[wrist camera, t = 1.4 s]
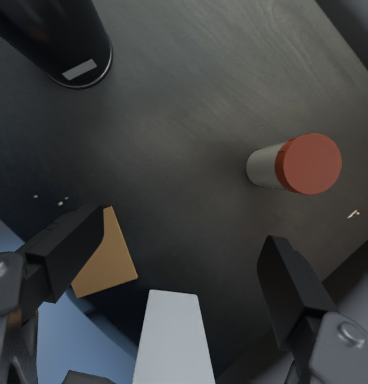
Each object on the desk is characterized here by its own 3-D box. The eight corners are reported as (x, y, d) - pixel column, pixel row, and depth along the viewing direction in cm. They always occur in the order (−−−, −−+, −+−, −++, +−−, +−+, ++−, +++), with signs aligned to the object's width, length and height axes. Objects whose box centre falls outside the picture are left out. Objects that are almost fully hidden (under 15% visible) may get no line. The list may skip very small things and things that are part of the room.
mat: (50, 226, 28) (47, 227, 27) (112, 206, 28) (110, 206, 27) (78, 296, 29) (76, 298, 28) (137, 276, 29) (137, 278, 29)
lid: (267, 146, 20) (276, 143, 19) (320, 129, 20) (334, 125, 19) (282, 200, 21) (291, 202, 19) (333, 183, 21) (347, 184, 19)
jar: (241, 154, 28) (275, 145, 19) (278, 142, 29) (329, 128, 19) (251, 191, 29) (289, 200, 20) (287, 180, 29) (342, 183, 20)
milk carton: (150, 288, 30) (111, 493, 11) (196, 294, 30) (239, 498, 11) (143, 332, 30) (94, 601, 11) (189, 337, 31) (217, 601, 12)
